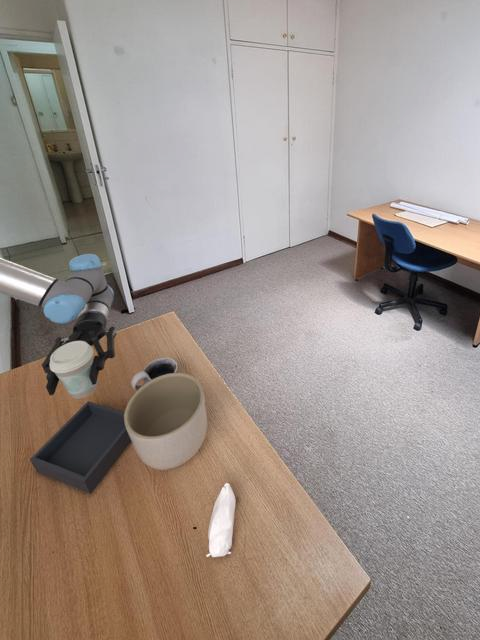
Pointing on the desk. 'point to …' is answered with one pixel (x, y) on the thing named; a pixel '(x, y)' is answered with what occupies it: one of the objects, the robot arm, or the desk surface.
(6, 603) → the desk surface
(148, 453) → the planter
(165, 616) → the desk surface
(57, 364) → the coffee cup
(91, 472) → the bin
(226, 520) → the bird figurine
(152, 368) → the mug
